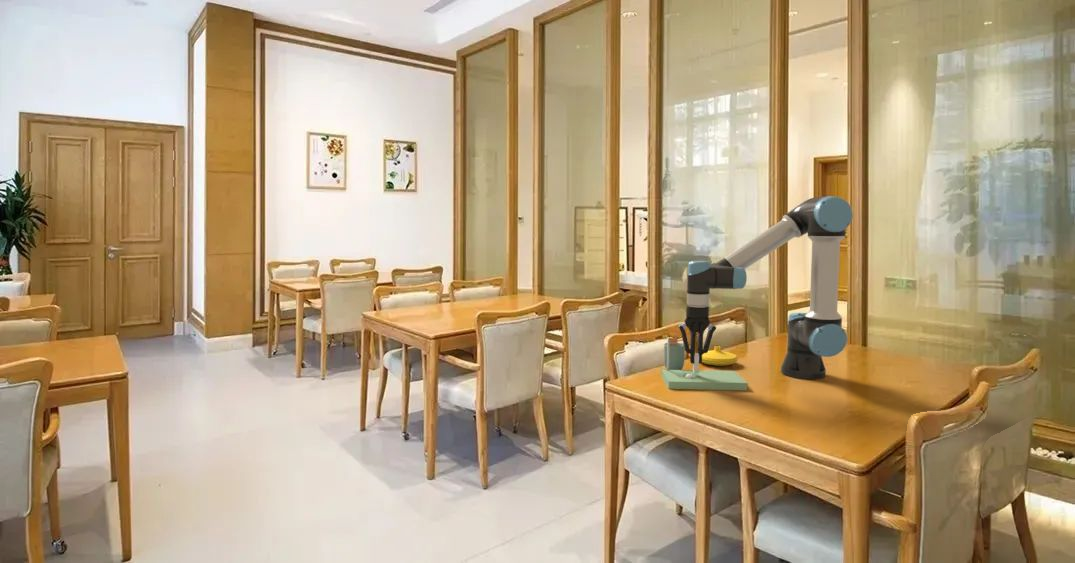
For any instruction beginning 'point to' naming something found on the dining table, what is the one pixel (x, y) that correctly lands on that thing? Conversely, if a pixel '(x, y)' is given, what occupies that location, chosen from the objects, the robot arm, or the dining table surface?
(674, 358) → the cup
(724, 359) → the yellow round domed piece
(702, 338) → the robot arm
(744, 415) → the dining table surface
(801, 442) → the dining table surface
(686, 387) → the green stand
